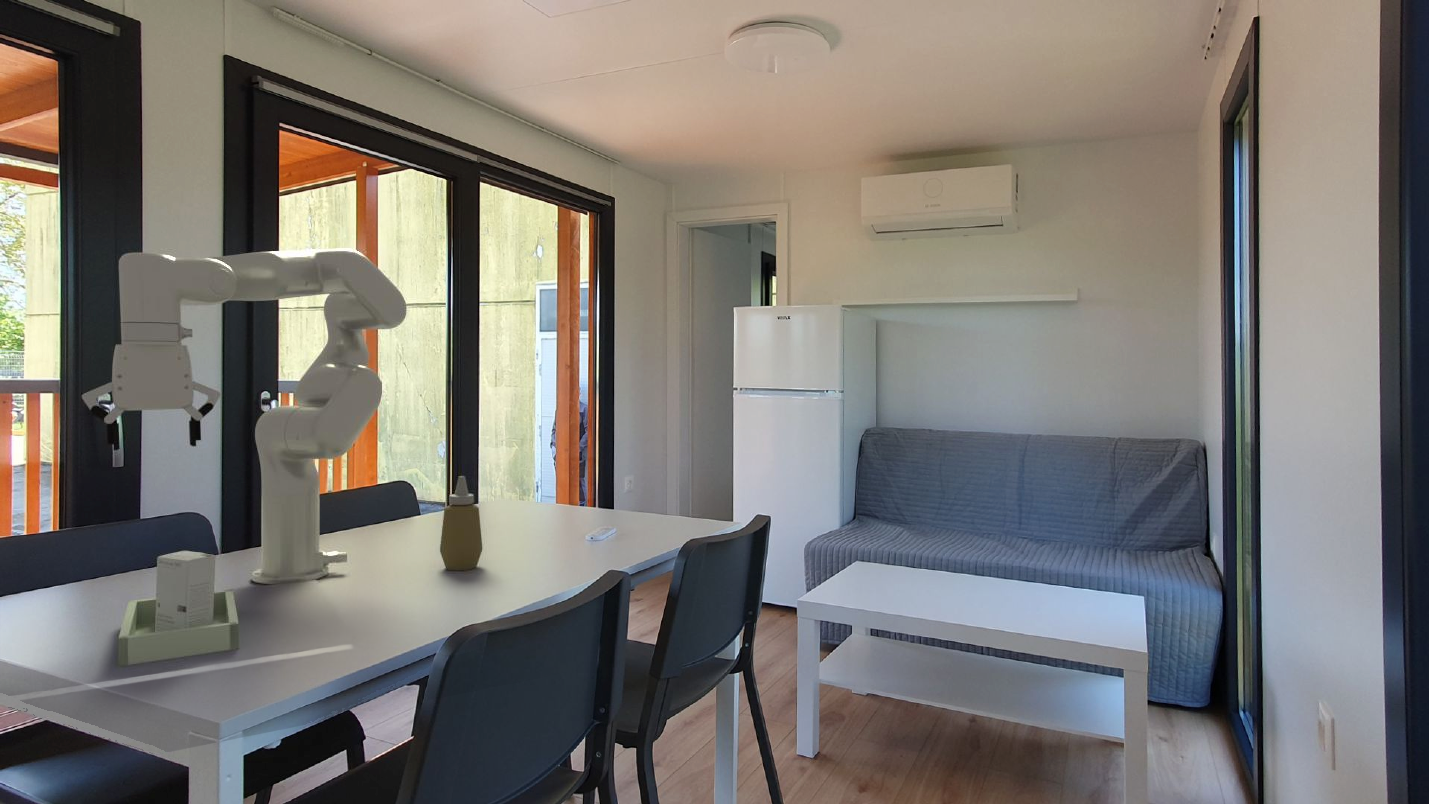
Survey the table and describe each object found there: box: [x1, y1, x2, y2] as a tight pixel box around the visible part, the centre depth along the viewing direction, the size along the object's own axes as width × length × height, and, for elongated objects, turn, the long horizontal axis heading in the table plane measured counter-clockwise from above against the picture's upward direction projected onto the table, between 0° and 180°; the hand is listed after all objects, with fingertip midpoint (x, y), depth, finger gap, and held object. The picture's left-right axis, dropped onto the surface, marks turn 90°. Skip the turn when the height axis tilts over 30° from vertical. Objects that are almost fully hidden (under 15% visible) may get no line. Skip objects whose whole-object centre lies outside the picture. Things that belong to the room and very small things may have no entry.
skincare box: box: [155, 550, 216, 632], centre depth 109 cm, size 6×4×12 cm
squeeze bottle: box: [439, 475, 483, 571], centre depth 157 cm, size 8×8×18 cm
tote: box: [117, 589, 240, 667], centre depth 112 cm, size 13×20×4 cm, turn 33°
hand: (155, 447), depth 123 cm, fingers open, 9 cm apart
